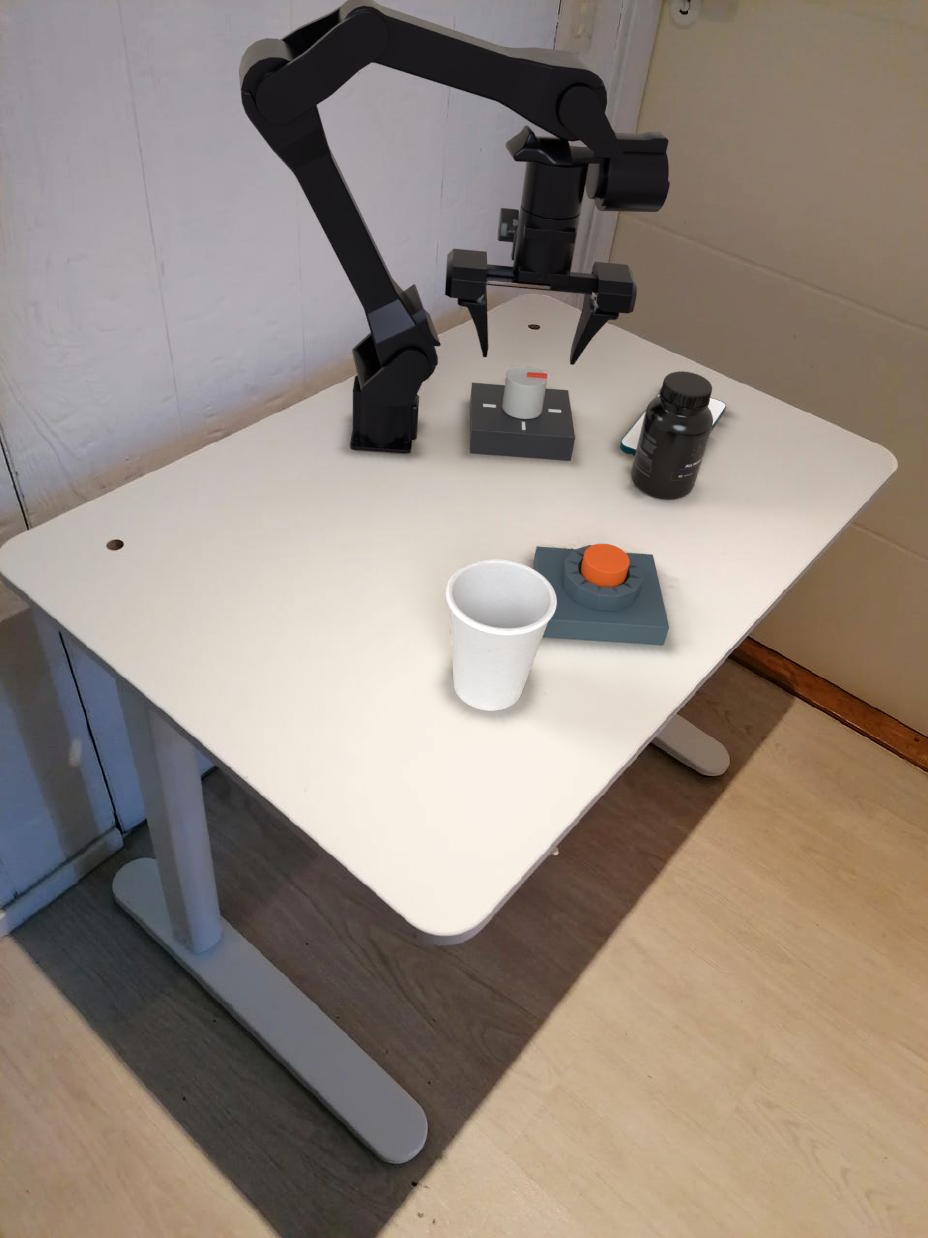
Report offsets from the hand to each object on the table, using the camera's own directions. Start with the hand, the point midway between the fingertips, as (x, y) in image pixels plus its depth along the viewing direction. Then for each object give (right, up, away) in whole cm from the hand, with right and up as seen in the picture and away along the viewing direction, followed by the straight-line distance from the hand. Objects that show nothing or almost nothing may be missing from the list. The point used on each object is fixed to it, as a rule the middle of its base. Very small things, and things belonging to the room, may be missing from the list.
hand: (528, 359), depth 102 cm
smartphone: (+17, -6, +9) cm, 20 cm away
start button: (+5, -23, -17) cm, 29 cm away
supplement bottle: (+14, -13, +1) cm, 19 cm away
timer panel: (-1, -7, +6) cm, 9 cm away
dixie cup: (-5, -33, -23) cm, 40 cm away
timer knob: (0, -4, +4) cm, 6 cm away
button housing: (+5, -26, -14) cm, 30 cm away
